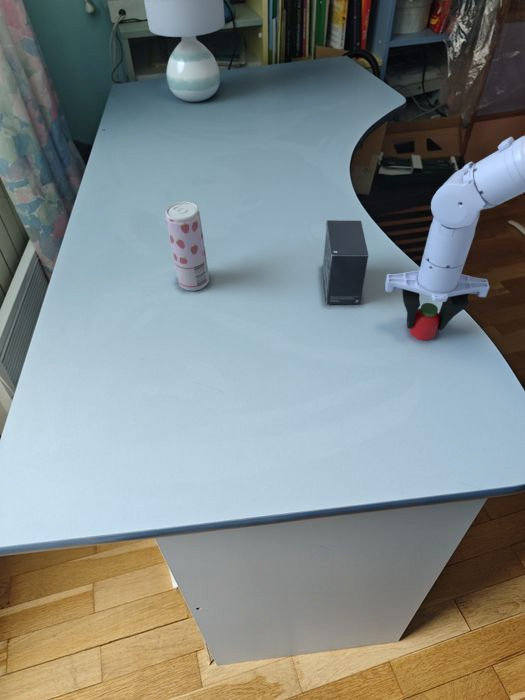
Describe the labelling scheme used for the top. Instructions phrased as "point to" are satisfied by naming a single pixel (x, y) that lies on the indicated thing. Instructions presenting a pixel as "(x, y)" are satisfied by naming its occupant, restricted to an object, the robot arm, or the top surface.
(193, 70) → the lamp
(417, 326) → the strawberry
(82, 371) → the top surface
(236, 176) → the top surface
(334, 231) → the small box
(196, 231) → the beverage can
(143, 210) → the top surface
